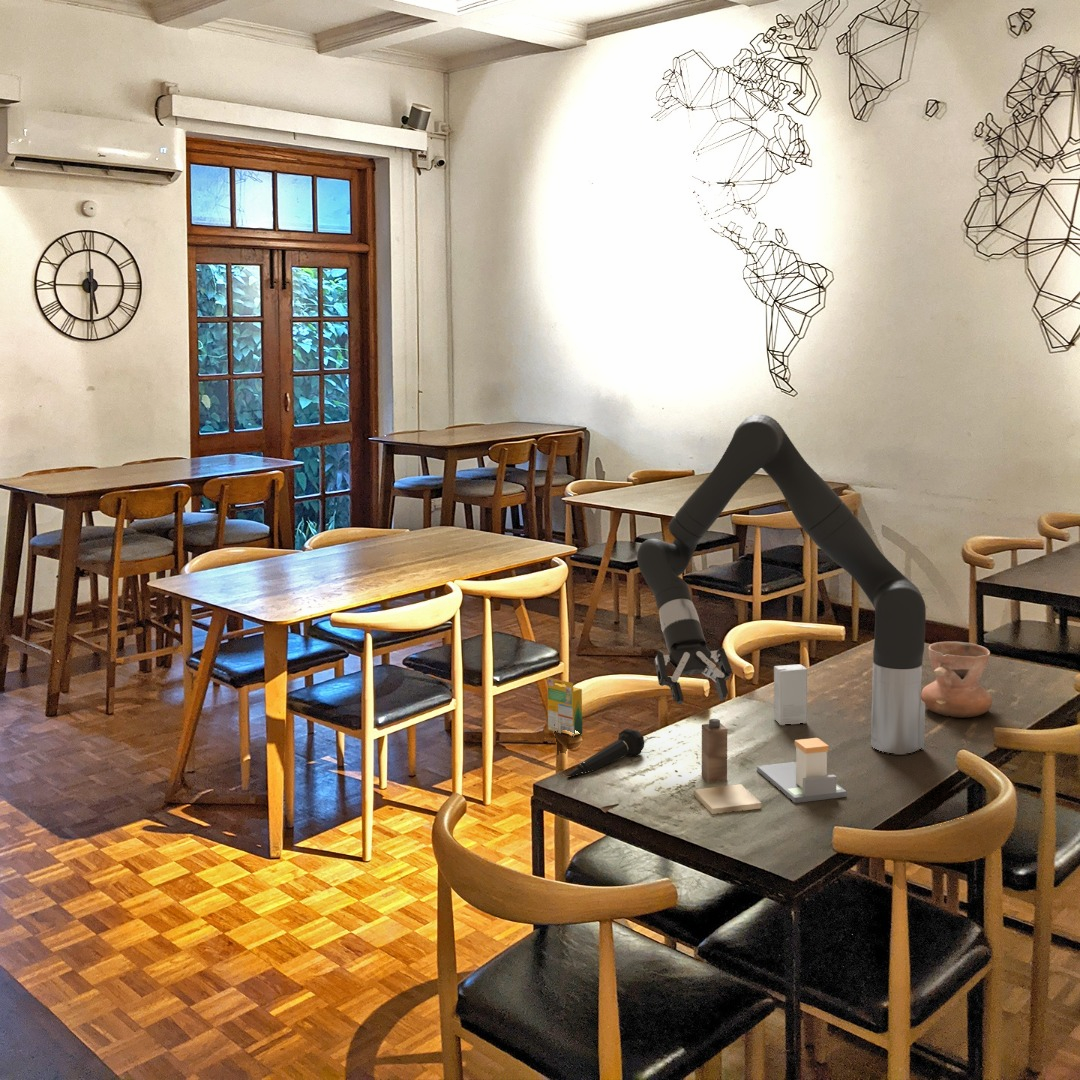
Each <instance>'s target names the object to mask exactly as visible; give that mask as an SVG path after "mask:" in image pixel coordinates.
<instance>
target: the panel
mask: <svg viewBox="0 0 1080 1080" xmlns="http://www.w3.org/2000/svg"><path fill="white" fill-rule="evenodd" d="M756 772H758V774H760V775H761V776H762V777H764V779H766V780H767V781H768V782H769V781H770V782H769V783H770V784H772V785H773V786H774V787H775V786H776V787H777V788H778V789H777V788H776V787H775V788H776V789H777V790H778V791H780V790H781V791H782V792H783V793H784V794H785V795H784V794H783V793H782V792H781V791H780V792H781V793H782V794H783V795H784V796H786V795H787V796H786V797H787V798H788V799H789V798H790V799H791V800H792V801H791V800H790V799H789V800H790V801H791V802H792V803H793V804H798V803H805V802H815V801H821V800H822V801H823V800H830V799H838V798H839V799H840V798H846V797H847V793H848V792H847V790H845V789H844V788H843V787H842V786H840V785H839V784H838V783H837V779H838V778H837V775H835V774H828V775H825V776H817V777H808V778H803V788H802V787H800V786H799V785H798V784H797V783H796V761H791V762H790V761H789V762H782V763H781V762H780V763H772V764H761V765H757V766H756Z"/></svg>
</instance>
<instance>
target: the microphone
mask: <svg viewBox="0 0 1080 1080" xmlns="http://www.w3.org/2000/svg"><path fill="white" fill-rule="evenodd" d="M645 743H646V741H645V739H644V736H643V734H642V733H641V732H640V731H639V730H638V729H637V730H636V729H633V728H631V729H629V728H625V729H624V730H623V731H621V732H619V733H618V739H617V740H615V741H614V742H612V743H610V744H609V745H607V746H606V747H604V748H602V749H601V750H599V751H598V752H596V753H594V754H592V755H591V756H590V757H588V758H587V759H585V760H584V761H582V762H580V763H579V764H581V765H579V764H578V765H577V766H576V768H575V769H573V770H572V771H570V773H568V774H567V775H566V777H567V776H573V775H576V774H579V773H581V772H583V773H584V774H586V773H585V772H588V771H591V772H593V771H595V770H598V769H599V768H602V767H604V766H606V765H608V764H610V763H612V762H615V761H617V760H619V759H621V758H623V757H625V756H627V757H628V756H629V757H632V756H634V758H635V757H637V756H638V755H641V754H642V751H643V749H644V748H645ZM583 762H585V763H583ZM597 768H598V769H597ZM592 770H593V771H592Z"/></svg>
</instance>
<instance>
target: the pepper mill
mask: <svg viewBox="0 0 1080 1080" xmlns="http://www.w3.org/2000/svg"><path fill="white" fill-rule="evenodd" d="M701 777H702V778H703V779H704V780H705V781H706V782H707V783H718V782H724V781H725V782H727V781H728V728H727V727H726V726H725V725H723V724H722V723H721V719H719V718H710V719H709V720H708V723H704V724H701Z"/></svg>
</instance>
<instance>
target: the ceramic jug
mask: <svg viewBox="0 0 1080 1080" xmlns="http://www.w3.org/2000/svg"><path fill="white" fill-rule="evenodd" d="M990 655H991V651H990V650H989V649H988V648H987V647H985V646H982V645H979V644H977V643H972V642H963V641H939V642H938V641H937V642H934V643H931V644H929V646H928V656H929V657H928V658H929V660H930V664H931V669H932V670H933V673H934V675H935V677H936V679H935V680H934V681H932V682H931V683H929V684H927V685H926V686H924V687H923V689H921V701H923V702H925V708H927V709H928V710H929V711H931V712H932V713H935V714H938V715H941V716H944V715H945V717H949V716H951V718H973V717H977V716H981V715H983V714H985V713H987V712H988V711H990V709H991V708H992V705H993V698H992V696H991V695H990V693H989V692H988V691H987V690H985V689H984V688H983V687H982V686H981V685H979V684H978V682H979V680H980V679H981V678H982V676H983V673H984V671H985V669H986V667H987V665H988V662H989V659H990Z"/></svg>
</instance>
